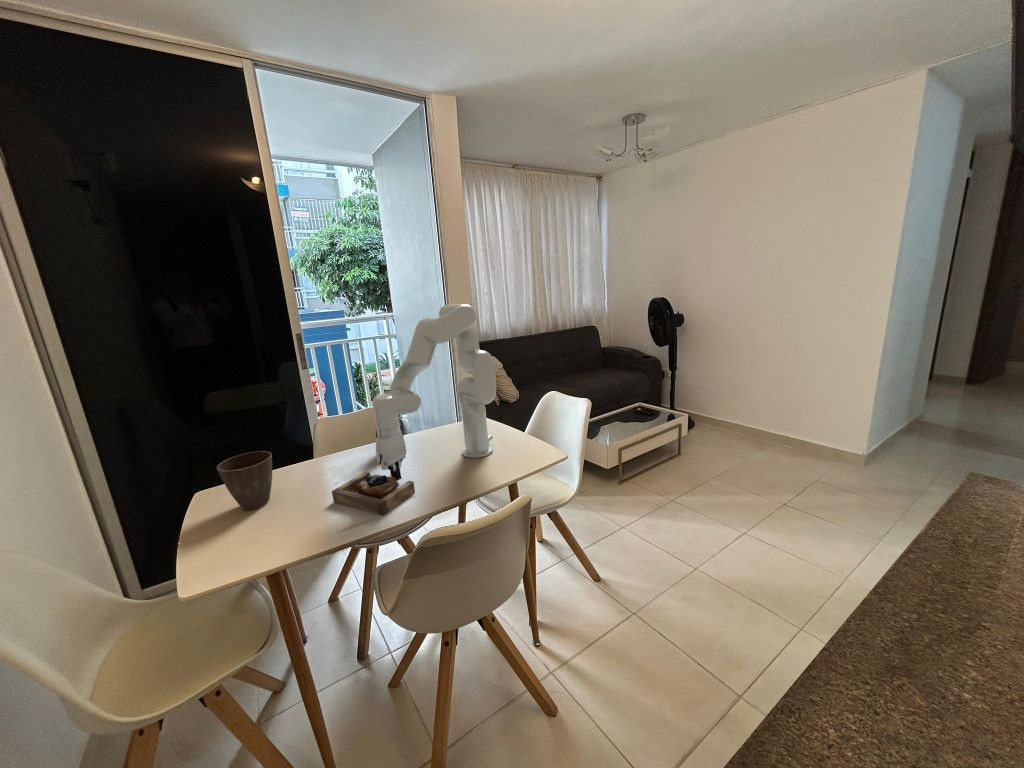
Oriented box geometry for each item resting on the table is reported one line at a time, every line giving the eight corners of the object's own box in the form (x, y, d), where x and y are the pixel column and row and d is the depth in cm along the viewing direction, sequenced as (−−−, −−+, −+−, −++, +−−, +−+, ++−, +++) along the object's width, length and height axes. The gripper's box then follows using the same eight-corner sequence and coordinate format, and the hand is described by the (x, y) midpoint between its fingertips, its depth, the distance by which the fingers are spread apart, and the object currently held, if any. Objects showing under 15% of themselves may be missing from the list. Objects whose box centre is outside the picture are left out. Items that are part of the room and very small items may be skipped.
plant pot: (236, 499, 134) (225, 456, 130) (285, 488, 139) (275, 447, 135) (222, 522, 120) (209, 475, 116) (277, 509, 125) (265, 464, 121)
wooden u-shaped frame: (367, 481, 140) (365, 471, 139) (415, 492, 130) (413, 481, 129) (333, 502, 127) (331, 491, 126) (383, 515, 117) (381, 504, 116)
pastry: (375, 482, 139) (373, 467, 138) (403, 486, 135) (401, 470, 134) (353, 497, 130) (350, 482, 128) (382, 502, 125) (379, 486, 124)
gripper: (396, 422, 141) (403, 468, 145) (363, 437, 128) (372, 487, 133) (411, 424, 137) (418, 471, 142) (380, 440, 125) (389, 491, 129)
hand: (396, 479), depth 137 cm, fingers closed
